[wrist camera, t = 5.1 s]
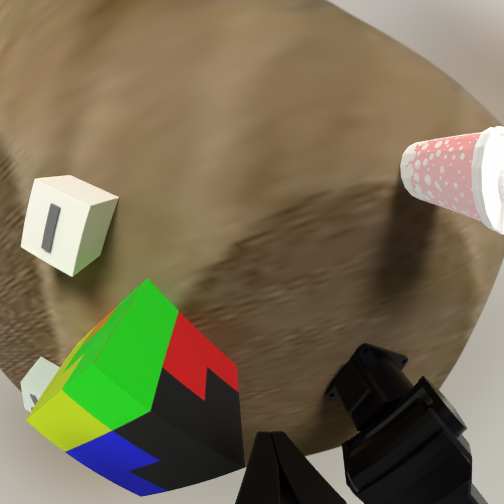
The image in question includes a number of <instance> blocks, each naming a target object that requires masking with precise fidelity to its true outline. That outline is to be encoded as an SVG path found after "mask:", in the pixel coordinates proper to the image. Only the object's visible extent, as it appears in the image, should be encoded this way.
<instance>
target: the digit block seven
mask: <svg viewBox="0 0 504 504" xmlns="http://www.w3.org/2000/svg"><path fill="white" fill-rule="evenodd" d="M59 369H60V367H58V366H56V365H54V364H53V363H51V362H49V361H48V360H46V359H44V358H43V357H40V358H39V359H38V361H37V362H36V363H35V364H34V366H33V367H32V368H31V369H30V371H29V372H28V373H27V375H26V376H25V377H24V378H23V380H22V381H21V389H22V395H23V401H24V407H25V409H26V410H28V411H29V412H31V411H32V410H33V408H34V406H35V405H36V403H37V402H38V400H39V398H40V397H41V395H42V394H43V392H44V391H45V389H46V388H47V386H48V385H49V383H50V382H51V380H52V379H53V377H54V376H55V374H56V373H57V371H58V370H59Z"/></svg>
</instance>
